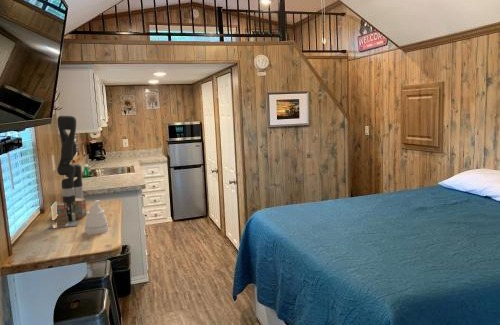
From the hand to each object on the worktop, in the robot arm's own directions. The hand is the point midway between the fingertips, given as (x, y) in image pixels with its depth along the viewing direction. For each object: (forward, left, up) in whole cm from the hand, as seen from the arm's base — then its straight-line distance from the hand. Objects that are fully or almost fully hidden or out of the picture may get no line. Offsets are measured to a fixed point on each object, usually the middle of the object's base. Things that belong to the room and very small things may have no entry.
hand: (70, 219), depth 258 cm
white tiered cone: (+30, +17, -1) cm, 35 cm away
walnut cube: (+10, -4, 0) cm, 11 cm away
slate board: (+10, -3, -1) cm, 10 cm away
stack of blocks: (-11, -2, -1) cm, 12 cm away
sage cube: (0, 0, -1) cm, 1 cm away
